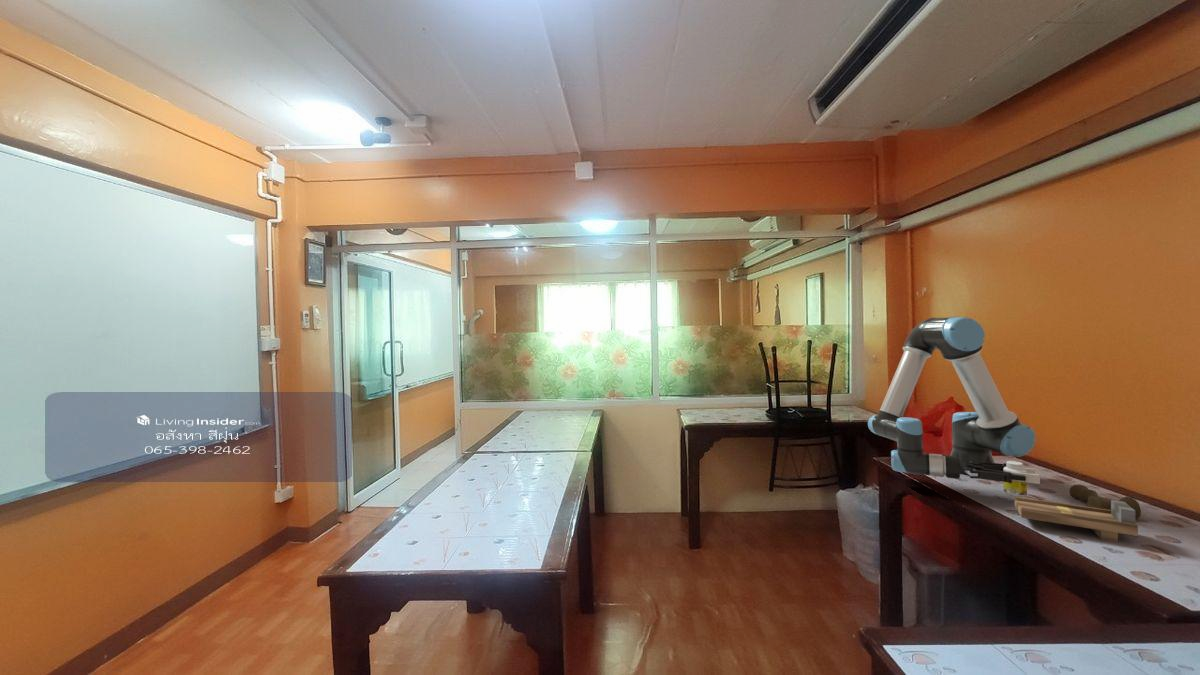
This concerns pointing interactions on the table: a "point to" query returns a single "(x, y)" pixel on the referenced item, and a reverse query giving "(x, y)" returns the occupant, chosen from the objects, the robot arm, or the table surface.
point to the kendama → (1100, 499)
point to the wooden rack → (1082, 516)
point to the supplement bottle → (1016, 486)
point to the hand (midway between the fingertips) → (1037, 476)
